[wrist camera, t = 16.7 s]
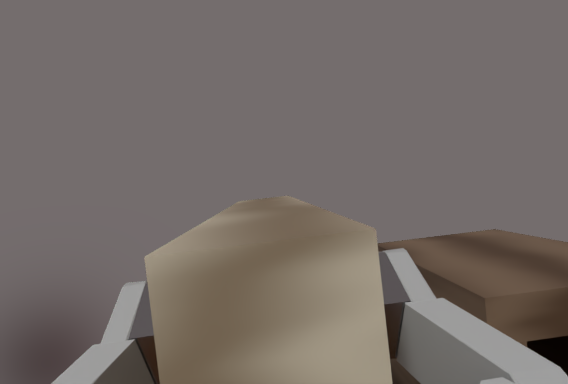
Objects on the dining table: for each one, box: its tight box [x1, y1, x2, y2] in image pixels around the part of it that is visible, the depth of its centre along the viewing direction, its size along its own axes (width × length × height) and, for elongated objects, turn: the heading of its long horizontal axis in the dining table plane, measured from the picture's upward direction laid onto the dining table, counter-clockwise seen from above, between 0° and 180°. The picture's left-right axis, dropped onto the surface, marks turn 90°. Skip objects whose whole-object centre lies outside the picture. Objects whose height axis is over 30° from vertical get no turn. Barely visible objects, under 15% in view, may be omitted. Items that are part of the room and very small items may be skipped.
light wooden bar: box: [144, 196, 393, 384], centre depth 15 cm, size 4×20×4 cm, turn 3°
